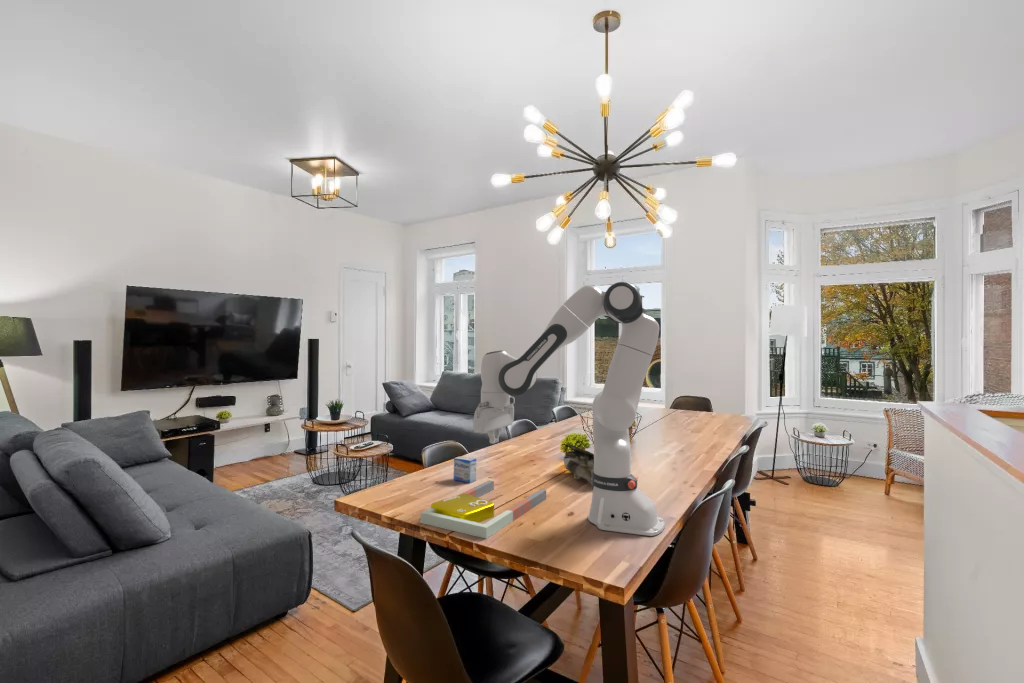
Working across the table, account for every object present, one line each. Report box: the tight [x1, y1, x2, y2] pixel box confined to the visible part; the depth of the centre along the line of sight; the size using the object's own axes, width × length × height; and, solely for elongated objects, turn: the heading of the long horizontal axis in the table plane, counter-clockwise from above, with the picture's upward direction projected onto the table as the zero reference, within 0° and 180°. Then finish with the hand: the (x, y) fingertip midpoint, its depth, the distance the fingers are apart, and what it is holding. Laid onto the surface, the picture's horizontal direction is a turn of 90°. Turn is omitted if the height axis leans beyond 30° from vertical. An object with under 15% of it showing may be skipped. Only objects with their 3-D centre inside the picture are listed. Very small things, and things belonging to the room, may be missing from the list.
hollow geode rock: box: [563, 443, 594, 485], centre depth 191 cm, size 28×13×15 cm
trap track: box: [420, 479, 547, 539], centre depth 154 cm, size 23×39×3 cm, turn 151°
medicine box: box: [453, 456, 477, 484], centre depth 187 cm, size 8×4×9 cm, turn 62°
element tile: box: [430, 493, 495, 523], centre depth 149 cm, size 15×15×5 cm
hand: (494, 442), depth 157 cm, fingers closed
